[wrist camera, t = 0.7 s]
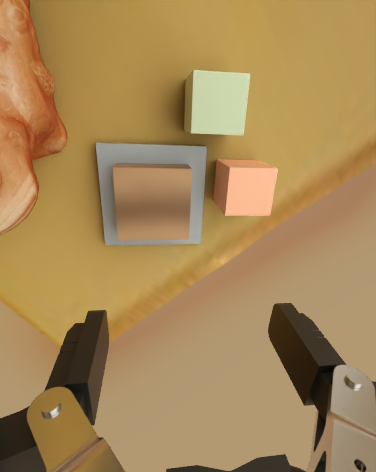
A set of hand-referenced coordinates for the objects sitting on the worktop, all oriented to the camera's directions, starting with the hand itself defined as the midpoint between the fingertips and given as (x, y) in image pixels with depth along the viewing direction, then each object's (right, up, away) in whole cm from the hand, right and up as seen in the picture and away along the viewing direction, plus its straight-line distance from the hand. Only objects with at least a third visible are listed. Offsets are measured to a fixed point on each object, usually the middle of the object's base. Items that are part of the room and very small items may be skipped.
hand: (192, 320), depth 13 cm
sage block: (+2, +18, +16) cm, 25 cm away
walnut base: (-4, +8, +18) cm, 21 cm away
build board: (-4, +9, +20) cm, 22 cm away
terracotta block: (+6, +11, +20) cm, 24 cm away
